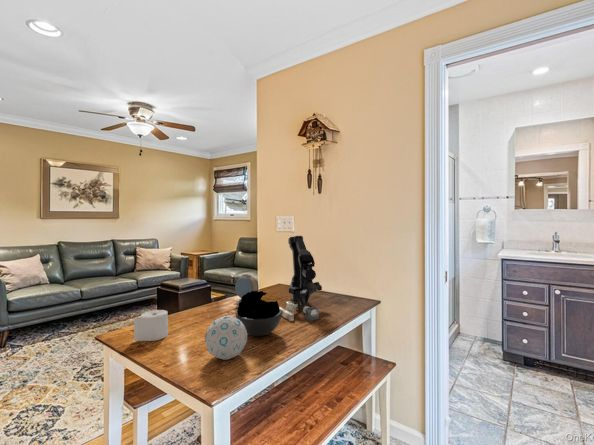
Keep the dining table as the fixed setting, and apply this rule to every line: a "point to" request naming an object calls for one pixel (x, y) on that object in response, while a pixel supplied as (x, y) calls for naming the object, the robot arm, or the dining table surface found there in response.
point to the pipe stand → (311, 313)
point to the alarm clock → (245, 286)
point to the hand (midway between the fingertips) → (305, 304)
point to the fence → (287, 314)
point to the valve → (294, 305)
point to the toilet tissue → (151, 326)
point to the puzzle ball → (226, 337)
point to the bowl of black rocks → (258, 314)
